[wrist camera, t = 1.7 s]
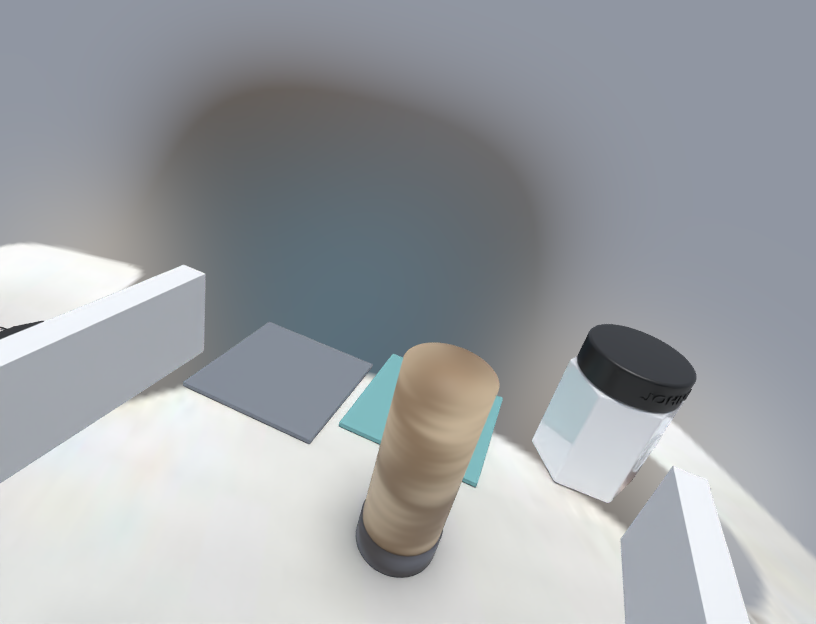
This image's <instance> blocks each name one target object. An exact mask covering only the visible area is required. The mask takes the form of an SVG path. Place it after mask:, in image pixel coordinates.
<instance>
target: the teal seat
mask: <svg viewBox="0 0 816 624" xmlns="http://www.w3.org/2000/svg"><path fill="white" fill-rule="evenodd" d="M402 360H403V358H402V357H400V356H397V355H395V354H392V356H391V357H390V358H389V359H388V361H387V362H386V363H385V365H384V366H383V367H382V369H381V370H380V371H379V372H378V374H377V375H376V376H375V377H374V379H373V380H372V381H371V383H370V384H369V385H368V386H367V388H366V389H365V390H364V392H363V393H362V394H361V395H360V397H359V398H358V399H357V401H356V402H355V403H354V404H353V406H352V407H351V408H350V410H349V411H348V412H347V413H346V415H345V416H344V417H343V419H342V420H341V421H340V422H339V426H340V427H342V428H344V429H347V430H349V431H351V432H353V433H356V434H358V435H360V436H362V437H364V438H367V439H369V440H371V441H373V442H376V443H378V444H381V440H382V436H383V432H384V429H385V425H386V421H387V417H388V414H389V410H390V406H391V402H392V398H393V395H394V391H395V387H396V383H397V379H398V376H399V372H400V368H401V364H402ZM502 400H503V398H502V397H499V396H497V395H496V398H495V400H494V403H493V405H492V408H491V410H490V413H489V415H488V418H487V420H486V423H485V425H484V428H483V430H482V433H481V435H480V438H479V440H478V443H477V445H476V448H475V450H474V453H473V455H472V457H471V460H470V462H469V465H468V467H467V470H466V472H465V475H464V477H463V480H462V481H463V482H465V483H467V484H469V485H472V486H474V487H476V485H477V483H478V479H479V476H480V473H481V469H482V466H483V463H484V460H485V456H486V453H487V450H488V446H489V443H490V440H491V436H492V433H493V430H494V426H495V423H496V420H497V416H498V413H499V410H500V406H501V403H502Z"/></svg>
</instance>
